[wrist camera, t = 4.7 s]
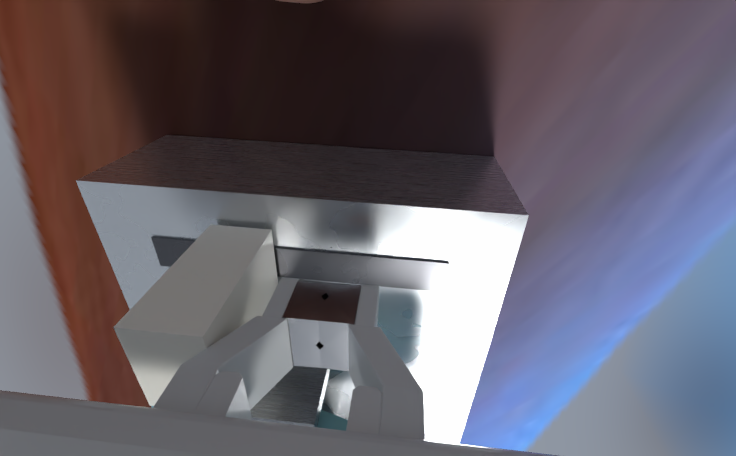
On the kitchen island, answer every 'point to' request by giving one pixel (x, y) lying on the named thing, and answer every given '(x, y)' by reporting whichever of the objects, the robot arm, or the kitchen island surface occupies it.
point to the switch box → (334, 247)
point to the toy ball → (301, 1)
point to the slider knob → (198, 302)
